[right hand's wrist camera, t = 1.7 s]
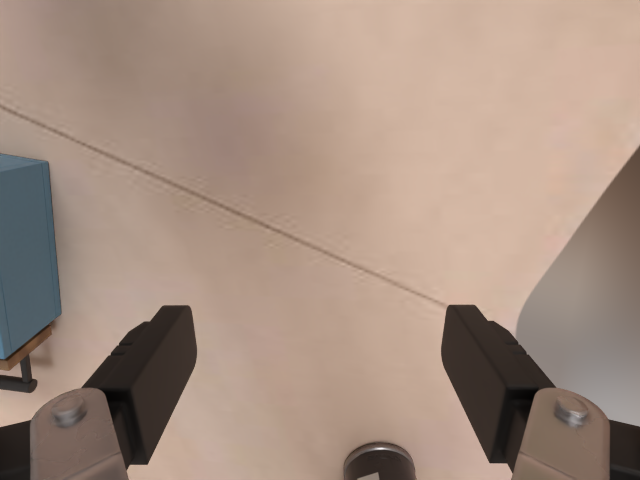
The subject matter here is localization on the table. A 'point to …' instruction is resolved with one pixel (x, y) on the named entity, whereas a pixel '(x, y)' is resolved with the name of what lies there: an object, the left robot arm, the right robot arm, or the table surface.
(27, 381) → the drawer
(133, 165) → the table surface
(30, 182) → the cabinet
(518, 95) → the table surface
